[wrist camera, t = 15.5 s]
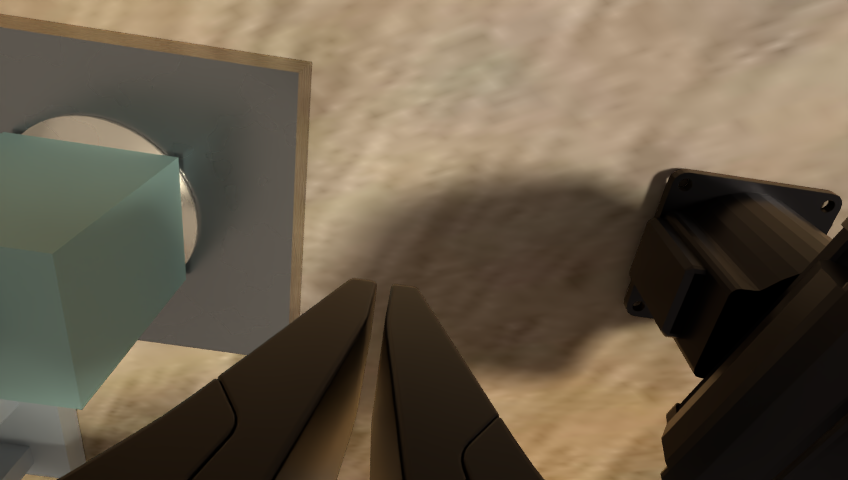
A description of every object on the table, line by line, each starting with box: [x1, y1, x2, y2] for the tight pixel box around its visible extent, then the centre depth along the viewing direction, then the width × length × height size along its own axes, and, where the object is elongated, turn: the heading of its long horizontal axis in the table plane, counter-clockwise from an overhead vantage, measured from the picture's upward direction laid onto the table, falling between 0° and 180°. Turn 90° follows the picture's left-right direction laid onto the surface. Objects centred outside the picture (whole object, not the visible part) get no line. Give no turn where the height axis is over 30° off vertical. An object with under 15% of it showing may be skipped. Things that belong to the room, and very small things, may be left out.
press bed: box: [0, 14, 312, 355], centre depth 22 cm, size 14×12×2 cm
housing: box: [0, 132, 186, 410], centre depth 17 cm, size 6×5×9 cm
